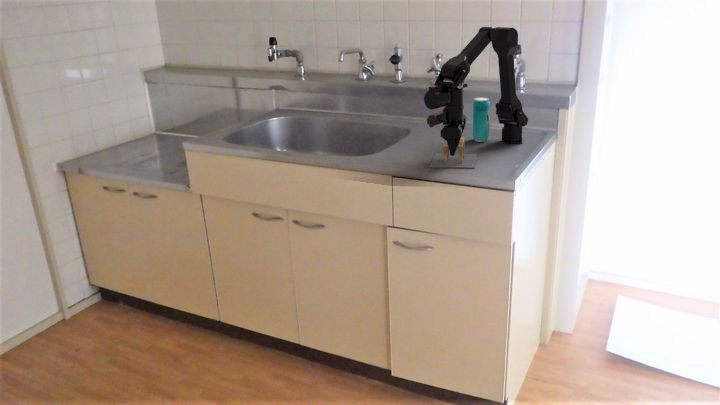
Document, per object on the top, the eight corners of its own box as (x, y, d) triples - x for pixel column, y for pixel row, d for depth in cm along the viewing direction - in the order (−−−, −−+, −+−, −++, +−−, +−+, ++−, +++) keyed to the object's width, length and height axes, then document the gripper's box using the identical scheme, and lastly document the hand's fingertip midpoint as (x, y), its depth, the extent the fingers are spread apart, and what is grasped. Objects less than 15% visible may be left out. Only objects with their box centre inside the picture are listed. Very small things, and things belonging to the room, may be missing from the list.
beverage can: (489, 142, 212) (489, 100, 206) (472, 142, 213) (472, 100, 208) (489, 138, 217) (489, 96, 212) (473, 138, 218) (473, 97, 213)
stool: (445, 157, 198) (445, 136, 195) (464, 157, 196) (464, 136, 194) (443, 162, 192) (443, 141, 190) (462, 163, 191) (462, 142, 188)
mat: (477, 155, 199) (477, 154, 199) (474, 168, 186) (474, 167, 186) (435, 154, 203) (435, 153, 202) (429, 167, 190) (429, 166, 190)
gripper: (432, 97, 198) (433, 142, 204) (423, 110, 181) (424, 159, 187) (466, 97, 195) (466, 143, 201) (460, 110, 178) (460, 160, 184)
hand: (453, 151), depth 193 cm, fingers open, 9 cm apart
